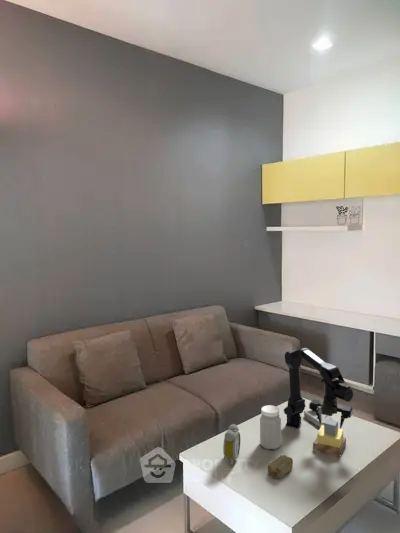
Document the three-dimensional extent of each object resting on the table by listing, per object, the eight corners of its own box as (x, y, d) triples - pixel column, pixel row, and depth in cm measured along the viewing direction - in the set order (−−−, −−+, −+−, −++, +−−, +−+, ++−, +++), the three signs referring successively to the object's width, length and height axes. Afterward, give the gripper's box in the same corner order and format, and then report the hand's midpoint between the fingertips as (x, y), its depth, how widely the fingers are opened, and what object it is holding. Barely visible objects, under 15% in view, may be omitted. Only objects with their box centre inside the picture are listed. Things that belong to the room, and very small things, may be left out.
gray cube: (324, 433, 188) (324, 423, 187) (327, 428, 192) (327, 418, 192) (335, 436, 185) (335, 425, 185) (337, 431, 189) (338, 421, 189)
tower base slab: (313, 451, 188) (313, 443, 187) (320, 439, 198) (320, 431, 197) (339, 458, 181) (339, 450, 181) (345, 445, 191) (345, 437, 191)
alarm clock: (235, 468, 175) (234, 435, 174) (219, 465, 177) (219, 433, 176) (240, 453, 186) (240, 422, 185) (226, 451, 188) (226, 420, 187)
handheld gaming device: (321, 430, 206) (321, 422, 206) (303, 417, 220) (303, 410, 219) (335, 426, 209) (335, 419, 209) (316, 414, 223) (317, 407, 223)
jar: (284, 443, 194) (284, 407, 192) (275, 453, 186) (275, 415, 184) (266, 437, 200) (265, 402, 198) (256, 446, 192) (256, 410, 190)
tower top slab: (317, 442, 187) (317, 434, 187) (321, 432, 196) (321, 424, 196) (339, 448, 183) (339, 439, 182) (343, 437, 192) (343, 429, 191)
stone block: (293, 468, 174) (293, 457, 174) (278, 481, 166) (278, 470, 166) (282, 463, 178) (282, 452, 178) (266, 475, 170) (266, 464, 170)
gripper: (305, 396, 185) (305, 428, 187) (348, 404, 175) (347, 438, 177) (312, 387, 195) (312, 418, 196) (353, 395, 185) (352, 427, 186)
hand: (330, 425), depth 189 cm, fingers open, 9 cm apart
